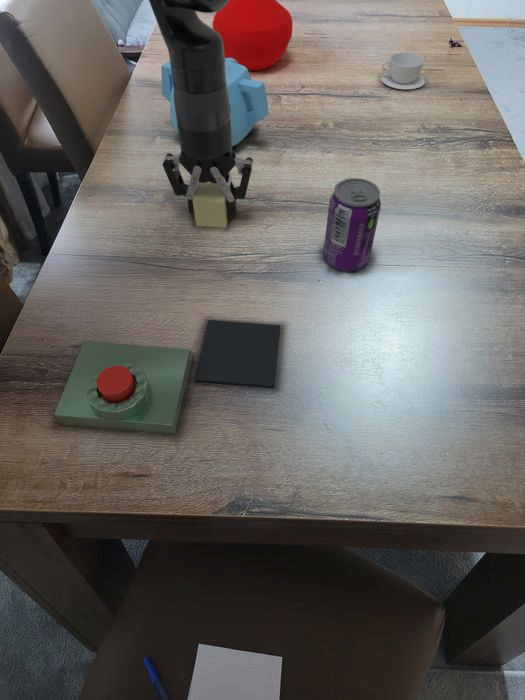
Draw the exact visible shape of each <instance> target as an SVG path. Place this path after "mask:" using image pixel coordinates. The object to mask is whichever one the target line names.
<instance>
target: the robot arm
mask: <svg viewBox="0 0 525 700" xmlns="http://www.w3.org/2000/svg"><path fill="white" fill-rule="evenodd" d="M148 2H149V4H150V7H151V9H152V12H153V15H154V17H155V20H156V23H157V25H158V29H159V31H160V34H161V36H162V38H163V41H164V43H165V45H166V48H167V51H168V56H169V62H170V65H171V72H172V79H173V87H174V106H175V113H176V119H177V126H178V133H179V134H178V133H177V134H178V139H179V145H180V154H176V155H174V154H173V153H171V152H167V153H166V155H165V157H164V160H163V162H162V168H163V170H164V172H165V174H166V177H167V179H168V181H169V184H170V186H171V188H172V190H173V193H174V195H176V196H177V197H180V196H182V197H184V198H186V202H187V207H188V213H189V214H190V215H192V217H193V218H194V219H195V214H194V206H193V198H194V195H195V191H196V188H197V185H198V182H199V183H206V182H207V183H215V184H218V186H219V188H220V190H221V191H223V193H224V195H225V197H226V211H227V220H228V221H232V219H233V218H235V216H236V213H237V200H238V199H239V200H244V199H246V195H247V191H248V187H249V183H250V179H251V175H252V170H253V165H254V159H253V158H252V157H246V158H245V159H244V158H239V157H237V156H236V154H235V152H234V150H233V146H232V139H231V122H230V113H231V109H230V104H229V95H228V90H227V84H226V71H225V59H226V58H225V54H224V45H223V40H222V38H221V36H220V34H219V33H218V32H217V31H215V30H214V29H213V27H211V26H209V25H208V24H206V23H205V22H204V21H202V20H201V18H200V17H199V15H198V13H197V12H199V13H203V14H213V13H216V12H217V11H219V10H221V9H222V8H223V7H225V6H226V5H227V3H228V2H229V0H148ZM181 166H182V167H183V168H184V169H185V170H186V172H188V174H189V175H190V176H191V177H190V179H189V183H188V184H187V183H185V180H184V178H183V176H182V173H181V171H180V167H181ZM234 167H235V168H236V169H237V173H238V174H239V176H241V180H240V183H239V186H236V185H235V184H234V181H233V180H232V179H233V178H232V175H231V171H232V170H233V168H234Z"/></svg>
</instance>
